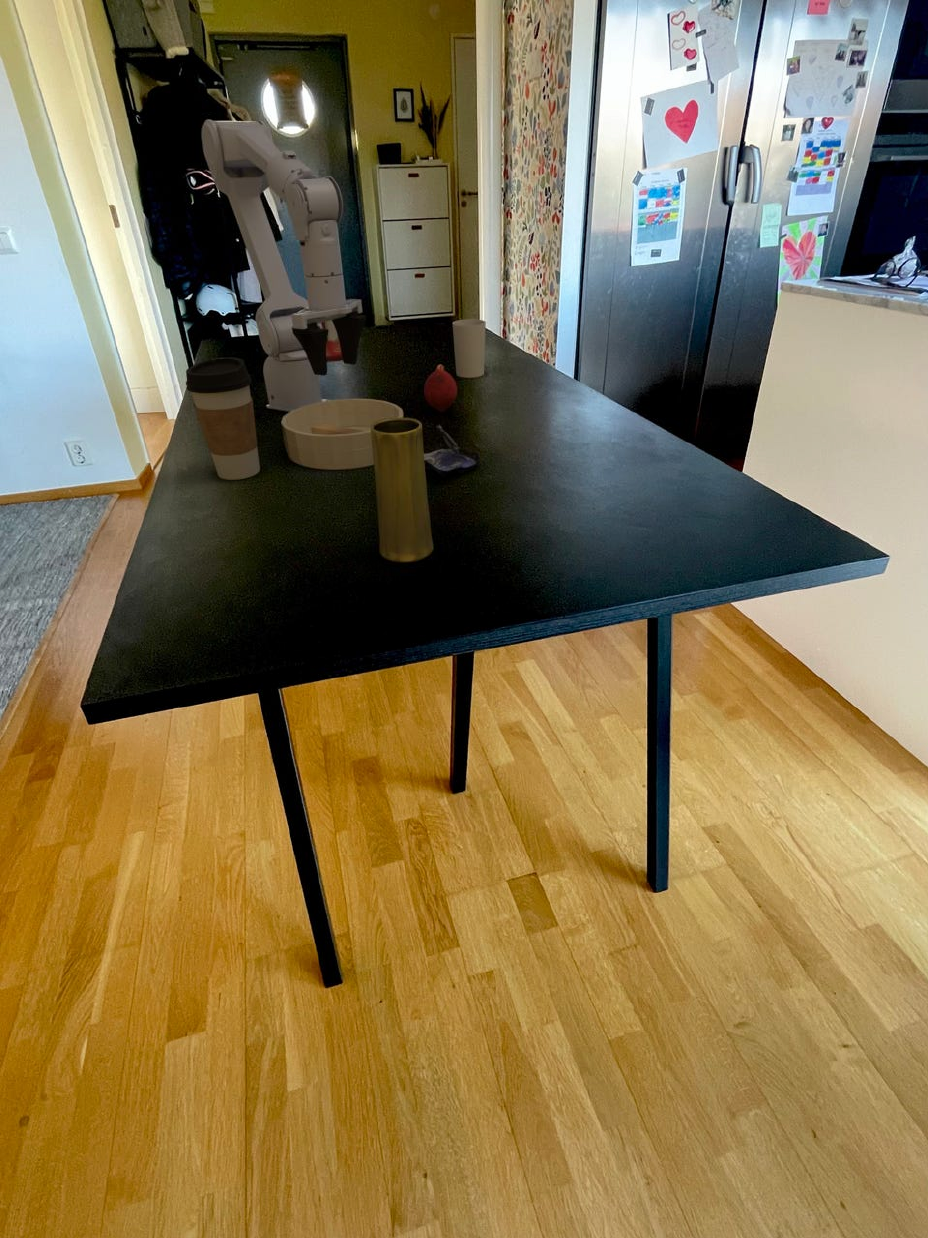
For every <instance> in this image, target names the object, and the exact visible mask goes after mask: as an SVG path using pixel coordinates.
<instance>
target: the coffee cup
mask: <svg viewBox="0 0 928 1238" xmlns="http://www.w3.org/2000/svg"><path fill="white" fill-rule="evenodd" d="M185 377H186V381H185V386H186V390H187V391H188V392H190V393H191V397H192V400H193V402H194V403H193V408H194V410H195V413H196V417H197V418H198V422H199V425H200V427H201V430H202V433H203V436H204V439H205V442H206V444H207V447H208V450H209V452H210V455H211V458H212V461H213V464H214V467H215V470H216V473H217V476H218V477H219V478H220V479H222V480H228V481H232V480H233V481H237V480H244V479H248V478H252V477H254V476H256V475H257V474H259V473H260V471H261V465H260V458H259V450H258V440H257V439H258V438H257V430H256V419H255V409H254V400H253V397H252V396H251V389H250V385H252V382H253V381H252V379H251V375H250V373H248V369H247V366H246V363H245V361H244V359H242V358H238V357H233V356H232V357H231V356H230V357H229V356H227V357H214V358H210V359H205V360H203V361H200V362H197V363H196V364H194V365H193V364H192V365H191V366H189V367H188V368H187V369H186V370H185Z"/></svg>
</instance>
